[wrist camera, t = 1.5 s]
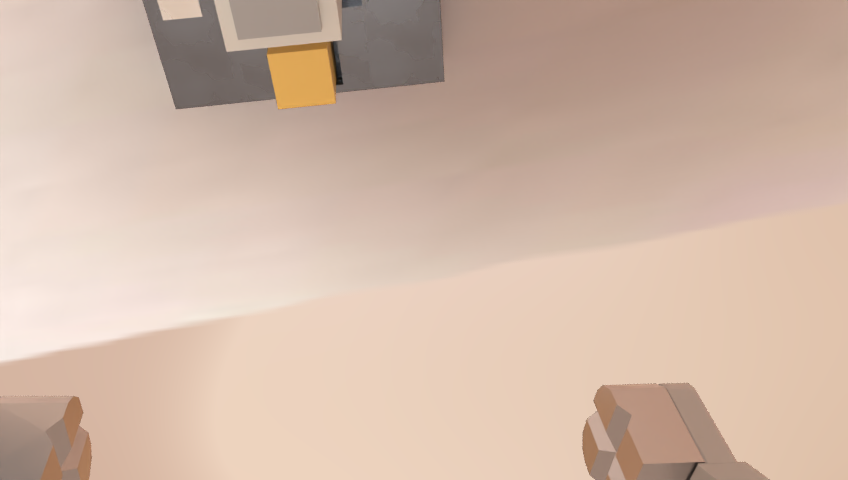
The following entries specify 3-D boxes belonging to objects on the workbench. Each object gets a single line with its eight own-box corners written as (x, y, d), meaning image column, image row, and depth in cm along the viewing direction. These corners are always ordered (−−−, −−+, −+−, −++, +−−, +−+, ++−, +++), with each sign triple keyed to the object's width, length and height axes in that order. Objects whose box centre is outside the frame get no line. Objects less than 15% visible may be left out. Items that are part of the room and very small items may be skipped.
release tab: (328, 13, 32) (327, 48, 28) (336, 64, 33) (335, 103, 30) (274, 18, 32) (266, 54, 28) (284, 70, 33) (278, 109, 30)
